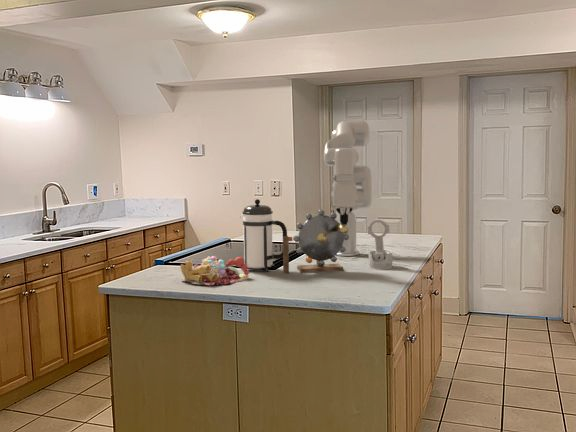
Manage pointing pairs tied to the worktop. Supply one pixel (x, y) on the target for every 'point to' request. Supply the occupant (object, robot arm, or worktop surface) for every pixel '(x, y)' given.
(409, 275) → the worktop surface
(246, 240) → the coffee press
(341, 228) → the sprocket
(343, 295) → the worktop surface
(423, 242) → the worktop surface
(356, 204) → the robot arm
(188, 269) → the candy landscape model
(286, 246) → the wheel stand
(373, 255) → the engine component
